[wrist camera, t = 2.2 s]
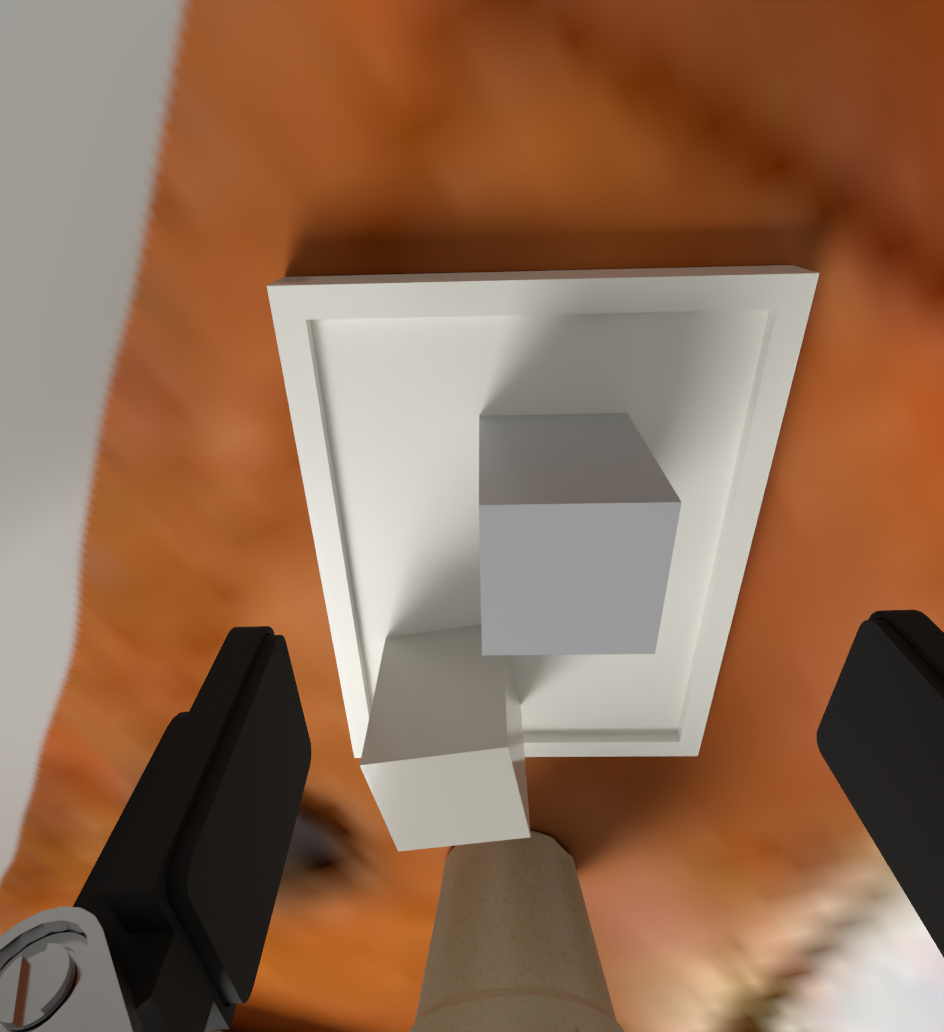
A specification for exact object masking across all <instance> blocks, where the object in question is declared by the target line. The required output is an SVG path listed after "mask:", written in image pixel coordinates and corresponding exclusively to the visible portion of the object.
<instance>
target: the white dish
mask: <svg viewBox="0 0 944 1032" xmlns="http://www.w3.org/2000/svg"><path fill="white" fill-rule="evenodd" d="M818 277H819V273H817V272H814V271H811V270H807V269H804V268H801V267H797V266H794V265H770V266H728V267H686V268H643V269H601V270H558V271H516V272H474V273H431V274H389V275H346V276H304V277H283V278H281V279H279V280H277V281H275V282H273V283H271V284H269V285H268V286H267V290H268V295H269V301H270V306H271V312H272V317H273V322H274V328H275V333H276V339H277V344H278V349H279V355H280V360H281V365H282V371H283V376H284V382H285V387H286V392H287V398H288V403H289V408H290V414H291V419H292V425H293V430H294V435H295V441H296V446H297V452H298V457H299V462H300V468H301V473H302V478H303V484H304V489H305V495H306V500H307V505H308V511H309V516H310V522H311V527H312V532H313V538H314V543H315V548H316V554H317V559H318V565H319V570H320V575H321V581H322V586H323V591H324V597H325V602H326V608H327V613H328V618H329V624H330V629H331V635H332V640H333V645H334V651H335V656H336V661H337V667H338V672H339V678H340V683H341V688H342V694H343V699H344V705H345V710H346V715H347V721H348V726H349V731H350V737H351V742H352V748H353V753H354V758H361V757H362V752H363V747H364V742H365V737H366V732H367V727H368V722H369V717H370V712H371V707H372V702H373V697H374V693H375V688H376V683H377V678H378V673H379V668H380V663H381V658H382V653H383V648H384V643H385V638H389V637H396V636H403V635H409V634H416V633H423V632H430V631H437V630H443V629H450V628H457V627H464V626H471V625H477V624H481V585H480V536H479V416H493V415H548V414H603V413H628V415H629V417H630V418H631V420H632V422H633V423H634V425H635V426H636V428H637V430H638V431H639V433H640V435H641V436H642V438H643V440H644V441H645V443H646V445H647V446H648V448H649V449H650V451H651V453H652V454H653V456H654V458H655V459H656V461H657V463H658V464H659V466H660V468H661V469H662V471H663V472H664V474H665V476H666V477H667V479H668V481H669V482H670V484H671V486H672V487H673V489H674V490H675V492H676V494H677V495H678V497H679V499H680V500H681V502H682V503H681V508H680V514H679V520H678V526H677V531H676V537H675V543H674V548H673V554H672V560H671V566H670V571H669V577H668V583H667V588H666V594H665V600H664V606H663V611H662V617H661V623H660V629H659V634H658V640H657V646H656V651H655V654H591V655H510V659H511V664H512V668H513V673H514V677H515V682H516V686H517V690H518V695H519V699H520V704H521V715H522V729H523V742H524V755H525V757H614V756H698V754H699V750H700V746H701V742H702V738H703V734H704V730H705V726H706V722H707V718H708V714H709V710H710V706H711V702H712V698H713V694H714V690H715V686H716V682H717V678H718V674H719V670H720V666H721V662H722V658H723V654H724V650H725V646H726V642H727V639H728V635H729V631H730V627H731V623H732V619H733V615H734V611H735V607H736V603H737V599H738V595H739V591H740V587H741V583H742V579H743V575H744V571H745V567H746V563H747V559H748V555H749V551H750V547H751V543H752V539H753V535H754V531H755V527H756V523H757V519H758V515H759V511H760V507H761V503H762V500H763V496H764V492H765V488H766V484H767V480H768V476H769V472H770V468H771V464H772V460H773V456H774V452H775V448H776V444H777V440H778V436H779V432H780V428H781V424H782V420H783V416H784V412H785V408H786V404H787V400H788V396H789V392H790V388H791V384H792V380H793V376H794V372H795V368H796V364H797V361H798V357H799V353H800V349H801V345H802V341H803V337H804V333H805V329H806V325H807V321H808V317H809V313H810V309H811V305H812V301H813V297H814V293H815V289H816V285H817V281H818Z"/></svg>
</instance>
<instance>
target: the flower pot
mask: <svg viewBox="0 0 944 1032" xmlns="http://www.w3.org/2000/svg"><path fill="white" fill-rule="evenodd" d="M530 834H531V837H529V838H520V839H510V840H501V841H492V842H482V843H473V844H463V845H456V846H455V847H454V848H453V849H452V850H451V851H450V853H449V854H448V856H447V858H446V861H445V864H444V872H443V879H442V884H441V889H440V895H439V901H438V907H437V912H436V917H435V923H434V928H433V933H432V938H431V943H430V948H429V953H428V958H427V963H426V968H425V973H424V978H423V984H422V989H421V994H420V999H419V1004H418V1009H417V1015H416V1020H415V1024H414V1025H413V1026H412V1028H411V1029H410V1031H409V1032H624V1030H623V1029H622V1027H621V1026H620V1025H619V1024H618V1023H617V1020H616V1017H615V1013H614V1010H613V1006H612V1003H611V999H610V995H609V991H608V988H607V984H606V980H605V977H604V973H603V969H602V966H601V962H600V958H599V955H598V951H597V947H596V943H595V940H594V936H593V932H592V928H591V925H590V921H589V917H588V914H587V910H586V906H585V902H584V899H583V895H582V891H581V887H580V883H579V879H578V875H577V871H576V866H575V862H574V860H573V857H572V856H571V854H569V853H567V852H566V851H565V850H564V849H563V848H562V847H561V846H560V845H559V844H558V843H557V841H556V840H555V839H554V838H552V837H550V836H548V835H545V834H542V833H539V832H535V831H531V830H530Z"/></svg>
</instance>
